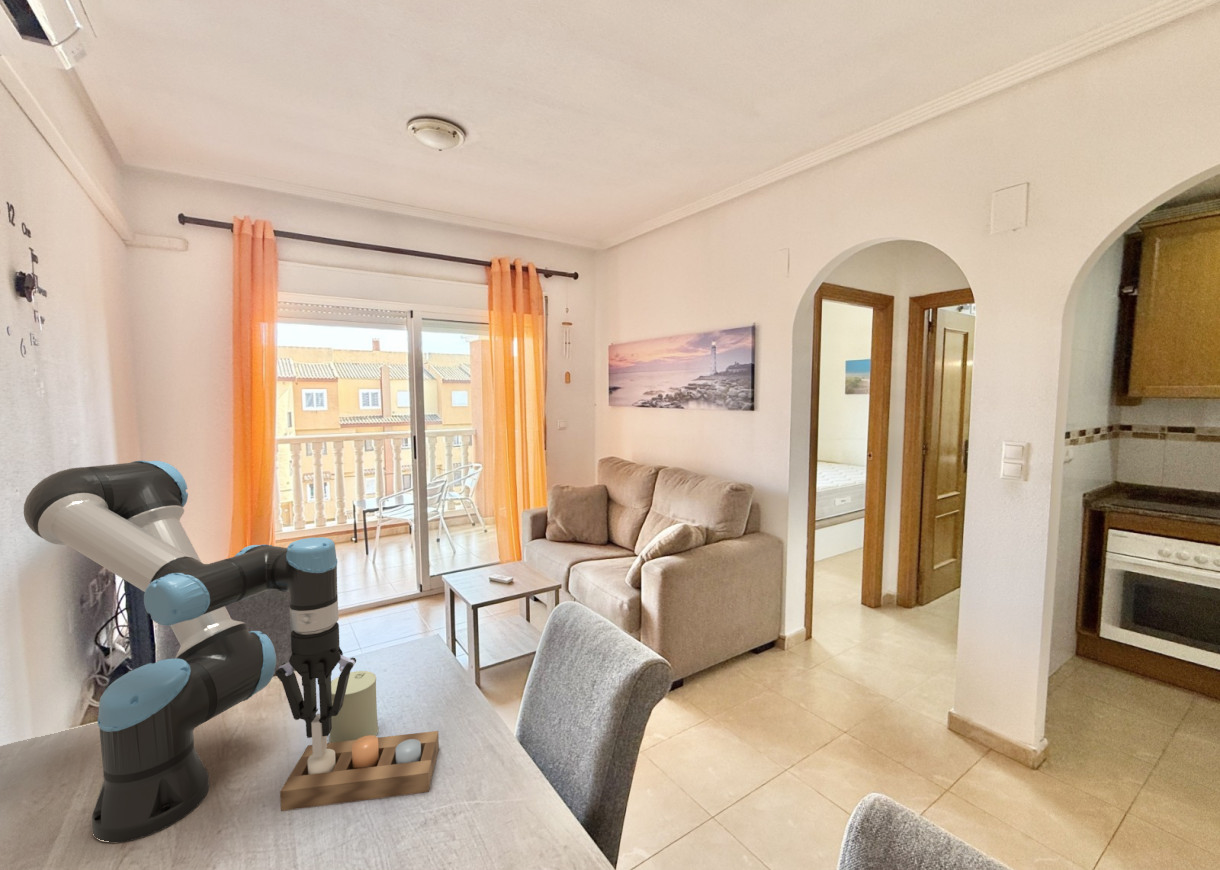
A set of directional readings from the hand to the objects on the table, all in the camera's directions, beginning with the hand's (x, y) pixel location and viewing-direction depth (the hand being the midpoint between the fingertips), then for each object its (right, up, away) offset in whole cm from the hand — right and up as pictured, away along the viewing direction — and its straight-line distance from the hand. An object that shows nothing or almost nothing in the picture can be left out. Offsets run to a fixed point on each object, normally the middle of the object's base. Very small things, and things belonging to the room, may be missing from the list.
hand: (320, 752), depth 95 cm
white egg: (0, -5, 0) cm, 5 cm away
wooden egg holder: (+8, -6, +2) cm, 10 cm away
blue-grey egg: (+15, -5, +3) cm, 16 cm away
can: (0, -5, +14) cm, 14 cm away
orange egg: (+8, -4, +1) cm, 9 cm away
